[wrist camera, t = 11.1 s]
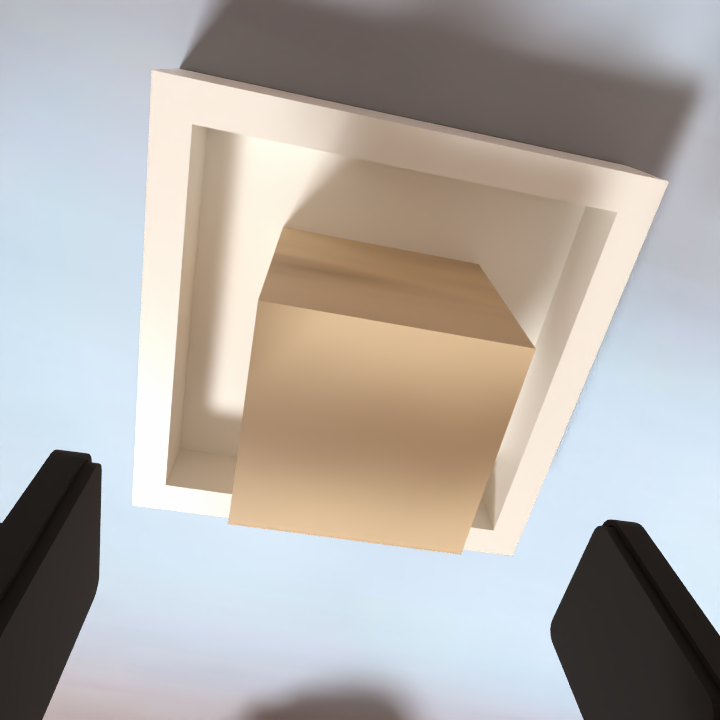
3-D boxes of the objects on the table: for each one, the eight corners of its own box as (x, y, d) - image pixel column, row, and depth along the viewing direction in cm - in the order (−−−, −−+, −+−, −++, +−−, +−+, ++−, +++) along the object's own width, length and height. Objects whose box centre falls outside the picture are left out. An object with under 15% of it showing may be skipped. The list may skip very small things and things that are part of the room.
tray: (495, 506, 23) (512, 555, 21) (154, 457, 22) (132, 504, 20) (625, 165, 18) (668, 181, 15) (178, 68, 16) (151, 70, 14)
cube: (429, 427, 21) (461, 554, 16) (257, 400, 20) (227, 524, 15) (478, 263, 18) (535, 348, 13) (282, 227, 18) (258, 300, 12)
